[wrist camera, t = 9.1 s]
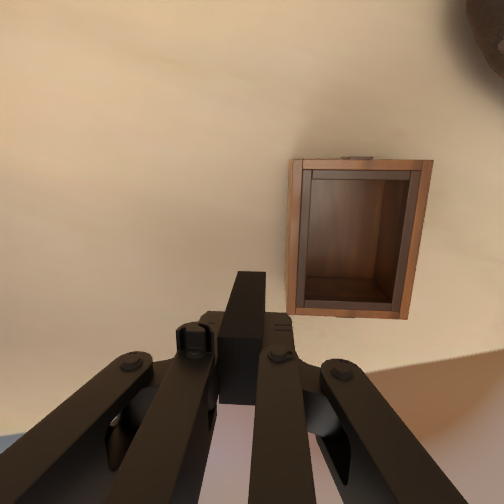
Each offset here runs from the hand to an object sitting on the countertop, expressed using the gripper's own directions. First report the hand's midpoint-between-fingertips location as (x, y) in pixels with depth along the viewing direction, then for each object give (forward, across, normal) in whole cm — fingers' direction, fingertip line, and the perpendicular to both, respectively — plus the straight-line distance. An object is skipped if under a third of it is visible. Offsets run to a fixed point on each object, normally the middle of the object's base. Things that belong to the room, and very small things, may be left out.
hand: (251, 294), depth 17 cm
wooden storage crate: (+15, +3, 0) cm, 16 cm away
